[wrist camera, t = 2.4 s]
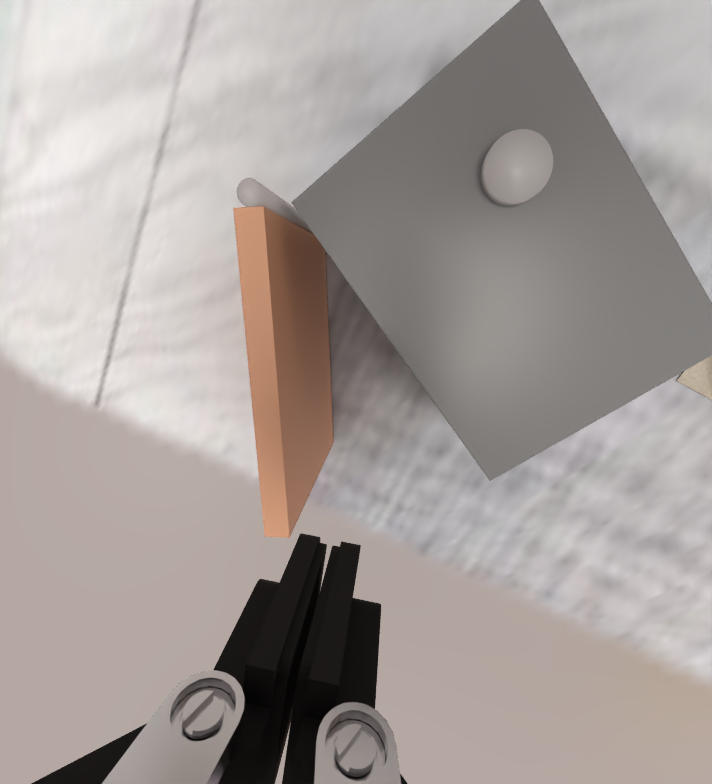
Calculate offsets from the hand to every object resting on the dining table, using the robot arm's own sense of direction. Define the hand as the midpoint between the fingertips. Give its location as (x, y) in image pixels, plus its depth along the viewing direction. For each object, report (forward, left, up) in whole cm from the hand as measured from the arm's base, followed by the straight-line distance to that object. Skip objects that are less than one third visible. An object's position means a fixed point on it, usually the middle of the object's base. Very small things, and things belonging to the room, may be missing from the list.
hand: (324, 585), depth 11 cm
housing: (-10, -3, -20) cm, 22 cm away
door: (+1, -6, -19) cm, 20 cm away
